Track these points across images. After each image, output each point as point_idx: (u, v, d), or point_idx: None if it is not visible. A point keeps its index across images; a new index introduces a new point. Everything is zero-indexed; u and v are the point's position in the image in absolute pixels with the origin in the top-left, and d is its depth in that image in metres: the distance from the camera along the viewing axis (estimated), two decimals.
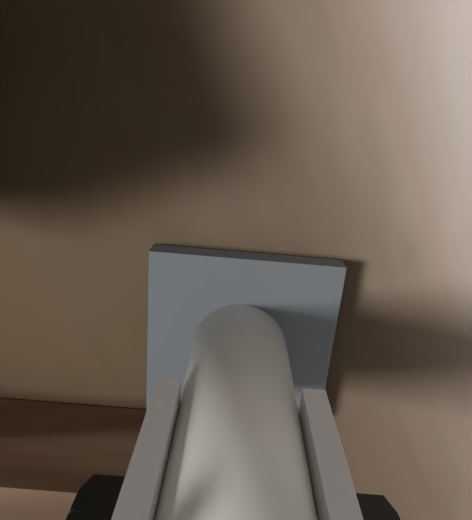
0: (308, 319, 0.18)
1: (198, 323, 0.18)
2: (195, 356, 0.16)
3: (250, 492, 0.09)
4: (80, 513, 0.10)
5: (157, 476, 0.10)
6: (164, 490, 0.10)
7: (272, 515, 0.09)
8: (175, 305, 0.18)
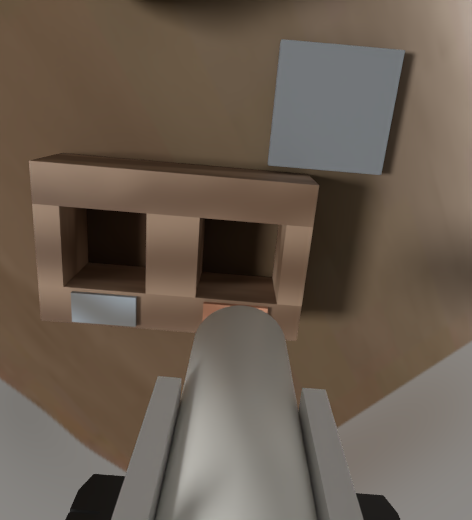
0: (379, 88, 0.28)
1: (308, 93, 0.29)
2: (195, 357, 0.16)
3: (250, 493, 0.09)
4: (80, 513, 0.10)
5: (157, 476, 0.10)
6: (164, 491, 0.10)
7: (272, 517, 0.09)
8: (295, 79, 0.28)
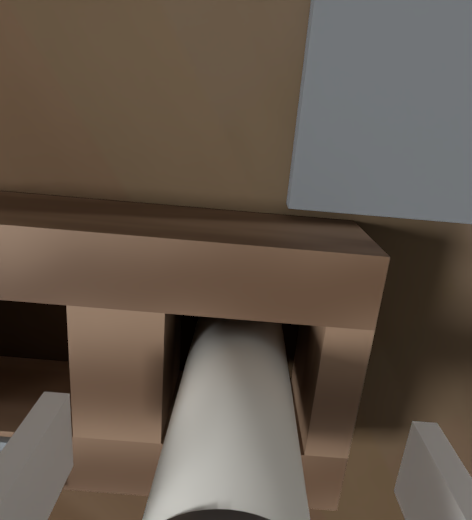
0: None
1: (361, 83, 0.16)
2: (198, 328, 0.17)
3: (241, 420, 0.11)
4: None
5: None
6: (170, 426, 0.12)
7: (259, 437, 0.11)
8: (339, 58, 0.16)
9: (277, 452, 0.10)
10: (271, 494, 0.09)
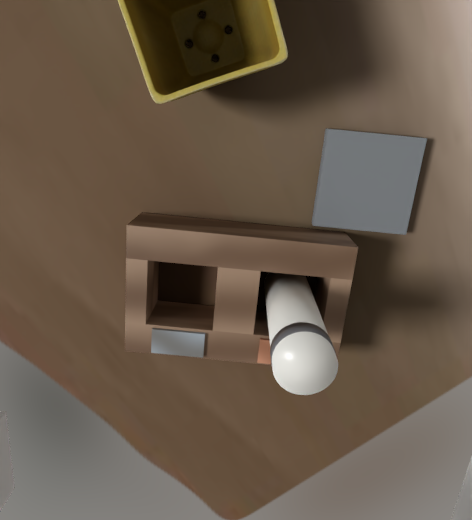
0: (405, 167, 0.35)
1: (348, 169, 0.35)
2: (270, 283, 0.37)
3: (302, 306, 0.30)
4: None
5: None
6: (272, 313, 0.31)
7: (309, 310, 0.30)
8: (337, 159, 0.35)
9: (316, 315, 0.30)
10: (316, 322, 0.28)
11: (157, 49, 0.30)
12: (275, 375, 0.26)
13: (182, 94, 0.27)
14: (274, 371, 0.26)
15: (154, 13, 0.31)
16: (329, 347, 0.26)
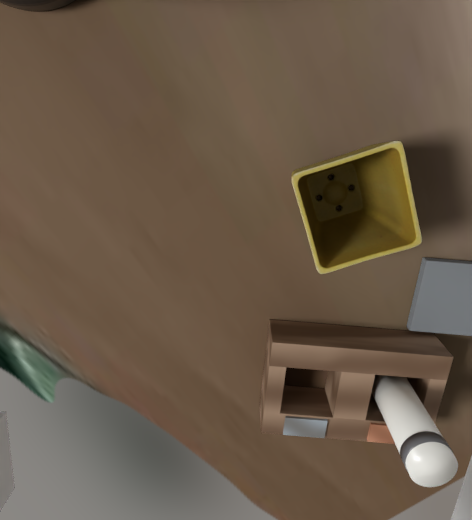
0: None
1: (440, 290, 0.44)
2: (376, 377, 0.46)
3: (418, 411, 0.39)
4: None
5: None
6: (391, 413, 0.41)
7: (425, 415, 0.39)
8: (432, 282, 0.44)
9: (430, 419, 0.39)
10: (434, 428, 0.38)
11: None
12: (410, 474, 0.36)
13: (340, 267, 0.35)
14: (410, 471, 0.36)
15: (300, 184, 0.40)
16: (452, 455, 0.35)
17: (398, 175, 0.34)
